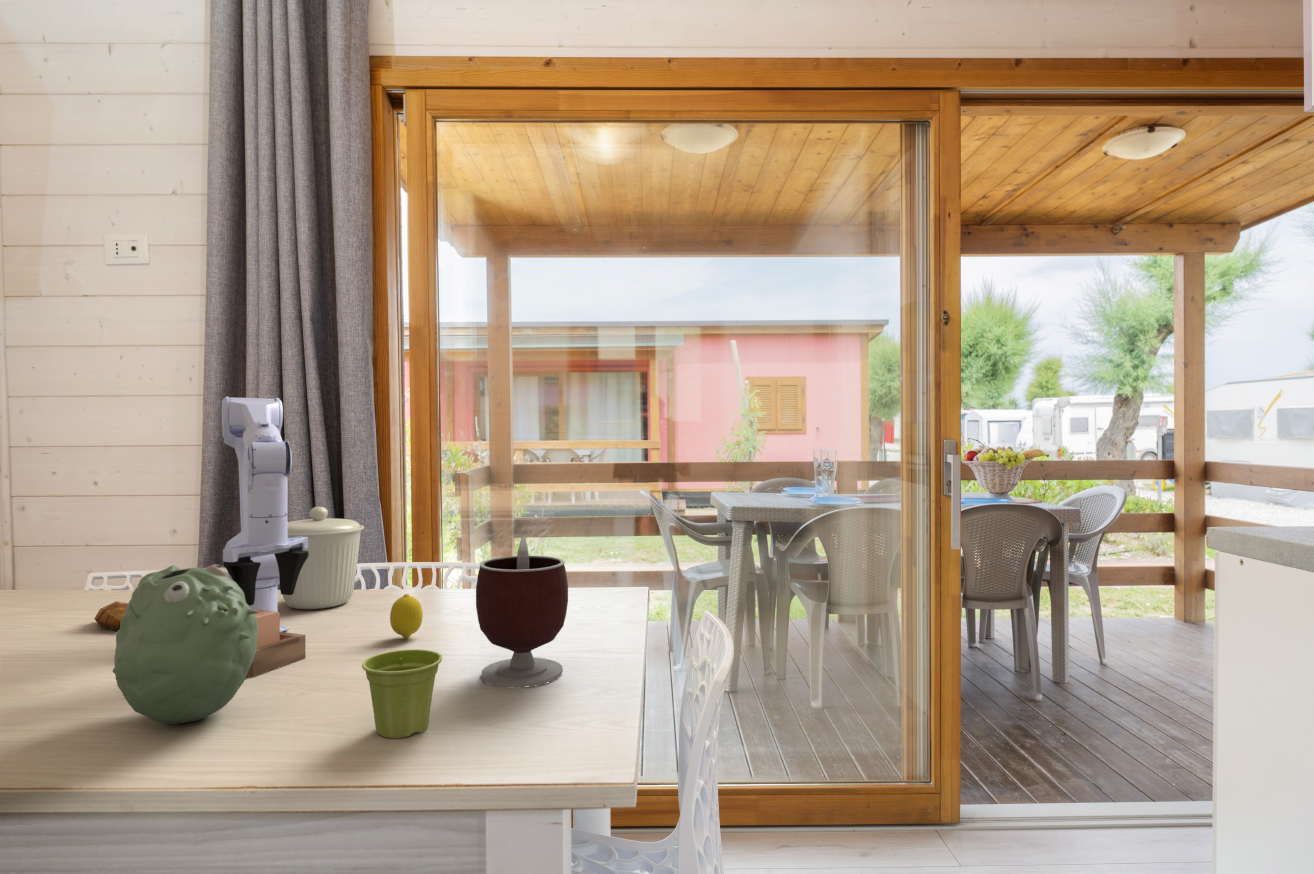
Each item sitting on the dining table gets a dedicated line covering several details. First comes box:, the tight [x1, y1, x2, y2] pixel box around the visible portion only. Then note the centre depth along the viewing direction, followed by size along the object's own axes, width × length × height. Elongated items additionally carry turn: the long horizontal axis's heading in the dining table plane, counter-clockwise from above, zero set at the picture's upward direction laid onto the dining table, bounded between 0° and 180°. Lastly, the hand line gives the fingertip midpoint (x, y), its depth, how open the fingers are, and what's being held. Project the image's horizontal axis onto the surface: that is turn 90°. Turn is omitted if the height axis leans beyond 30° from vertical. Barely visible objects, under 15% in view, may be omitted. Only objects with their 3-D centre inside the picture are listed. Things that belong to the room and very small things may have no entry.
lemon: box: [389, 593, 424, 640], centre depth 130 cm, size 6×6×8 cm
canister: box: [281, 506, 365, 610], centre depth 156 cm, size 18×18×21 cm
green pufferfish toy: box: [112, 563, 258, 725], centre depth 93 cm, size 16×19×20 cm
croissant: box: [94, 600, 129, 632], centre depth 138 cm, size 14×7×5 cm, turn 54°
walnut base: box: [246, 631, 306, 678], centre depth 116 cm, size 10×10×4 cm
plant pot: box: [361, 648, 443, 739], centre depth 90 cm, size 9×9×9 cm
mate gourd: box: [475, 535, 569, 688], centre depth 112 cm, size 16×14×20 cm
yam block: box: [255, 610, 281, 648], centre depth 115 cm, size 4×4×5 cm
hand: (267, 599), depth 118 cm, fingers open, 7 cm apart
